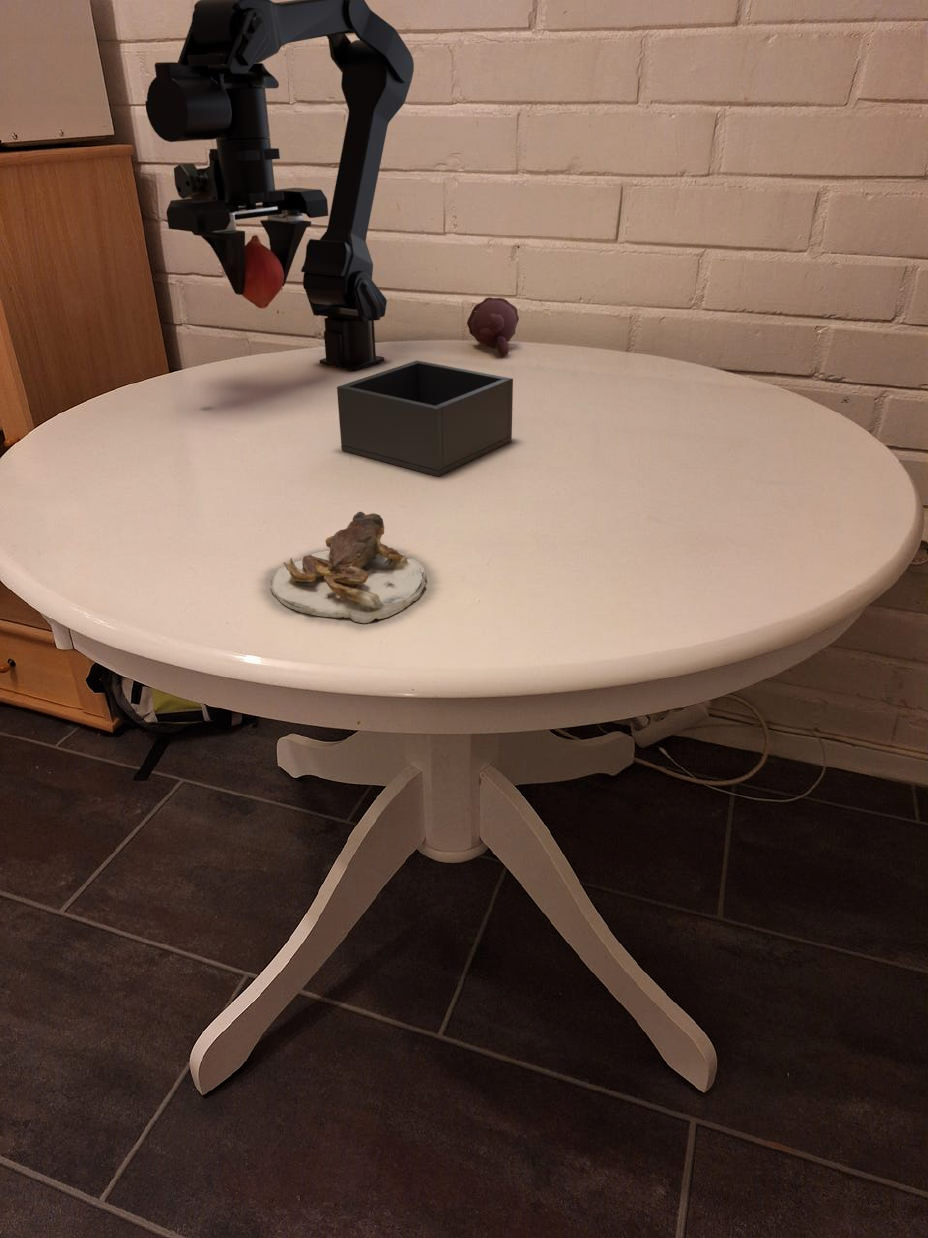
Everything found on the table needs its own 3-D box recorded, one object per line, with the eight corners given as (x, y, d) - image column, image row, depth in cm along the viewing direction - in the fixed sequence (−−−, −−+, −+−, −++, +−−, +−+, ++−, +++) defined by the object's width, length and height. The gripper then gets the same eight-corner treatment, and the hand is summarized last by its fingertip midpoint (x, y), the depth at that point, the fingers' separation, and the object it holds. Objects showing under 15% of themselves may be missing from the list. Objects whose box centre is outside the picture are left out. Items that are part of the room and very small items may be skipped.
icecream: (457, 290, 134) (467, 322, 122) (506, 276, 133) (521, 306, 121) (469, 335, 138) (480, 370, 126) (516, 322, 137) (531, 355, 125)
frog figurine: (311, 539, 75) (306, 495, 73) (449, 558, 71) (448, 513, 69) (239, 604, 65) (232, 556, 63) (395, 629, 62) (392, 580, 60)
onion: (226, 311, 105) (216, 236, 101) (255, 301, 110) (246, 230, 105) (268, 315, 103) (260, 239, 99) (296, 305, 107) (289, 232, 103)
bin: (418, 419, 102) (416, 359, 98) (511, 441, 95) (513, 378, 92) (341, 450, 93) (336, 386, 90) (438, 476, 87) (436, 408, 83)
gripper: (260, 133, 108) (274, 271, 116) (123, 139, 95) (150, 294, 103) (326, 135, 102) (336, 281, 110) (189, 142, 89) (212, 306, 97)
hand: (260, 290), depth 105 cm, fingers closed on onion, 6 cm apart
